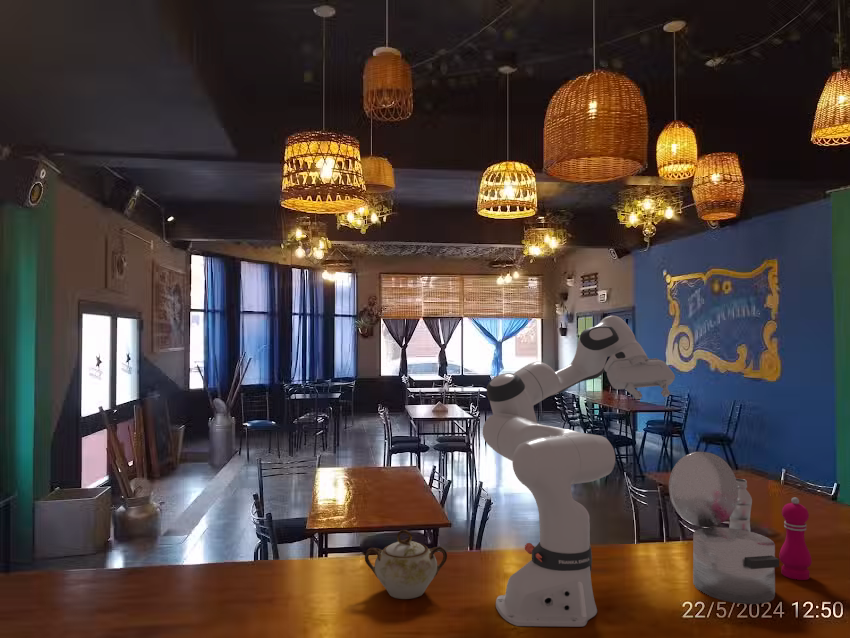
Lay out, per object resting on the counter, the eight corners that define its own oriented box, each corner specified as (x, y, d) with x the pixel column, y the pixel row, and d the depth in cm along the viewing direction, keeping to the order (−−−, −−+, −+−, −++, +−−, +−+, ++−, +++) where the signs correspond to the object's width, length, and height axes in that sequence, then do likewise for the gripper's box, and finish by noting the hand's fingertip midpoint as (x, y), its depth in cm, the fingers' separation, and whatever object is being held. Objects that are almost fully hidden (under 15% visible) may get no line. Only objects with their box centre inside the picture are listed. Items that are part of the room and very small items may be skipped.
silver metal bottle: (753, 549, 187) (753, 479, 187) (751, 556, 181) (751, 484, 181) (729, 545, 190) (729, 476, 191) (725, 551, 185) (725, 481, 185)
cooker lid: (668, 453, 170) (663, 452, 173) (675, 528, 167) (669, 527, 170) (733, 450, 174) (727, 450, 176) (742, 524, 171) (735, 523, 173)
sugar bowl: (361, 605, 149) (361, 539, 149) (367, 579, 164) (367, 519, 164) (447, 606, 149) (447, 540, 149) (446, 580, 164) (446, 520, 164)
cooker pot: (729, 611, 146) (729, 557, 147) (676, 574, 168) (676, 528, 168) (800, 605, 150) (800, 552, 150) (739, 570, 171) (739, 524, 171)
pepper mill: (816, 582, 163) (816, 502, 163) (784, 579, 165) (784, 500, 165) (805, 571, 170) (805, 494, 170) (775, 569, 172) (775, 493, 172)
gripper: (656, 364, 202) (678, 400, 193) (598, 368, 196) (618, 406, 187) (665, 351, 198) (688, 387, 189) (607, 355, 192) (627, 392, 183)
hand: (653, 396), depth 188 cm, fingers open, 8 cm apart
